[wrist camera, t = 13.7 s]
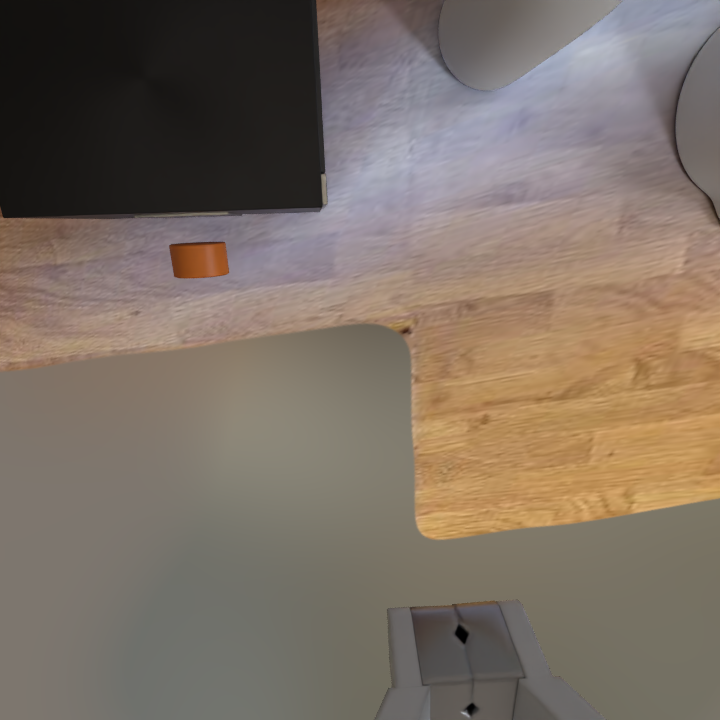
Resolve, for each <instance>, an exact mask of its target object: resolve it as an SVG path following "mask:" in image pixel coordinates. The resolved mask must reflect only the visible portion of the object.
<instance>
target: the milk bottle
mask: <svg viewBox="0 0 720 720" xmlns="http://www.w3.org/2000/svg"><path fill="white" fill-rule="evenodd" d="M622 1H623V0H445V1H444V4H443V6H442V10H441V13H440V18H439V26H438V37H439V45H440V50H441V53H442V56H443V59H444V61H445V63H446V65H447V67H448V68H449V70H450V71H451V73H452V74H453V75H454V76H455V77H456V78H457V79H458V80H459V81H460V82H462V83H463V84H465V85H466V86H468V87H471V88H473V89H477V90H482V91H491V90H497V89H500V88H503V87H505V86H507V85H509V84H511V83H512V82H514V81H516V80H517V79H519V78H520V77H522V76H523V75H525V74H526V73H528V72H529V71H531V70H532V69H533V68H535V67H536V66H538V65H539V64H541V63H542V62H544V61H545V60H546V59H548V58H549V57H551V56H552V55H554V54H555V53H556V52H558V51H559V50H561V49H562V48H563V47H565V46H566V45H568V44H569V43H570V42H572V41H573V40H575V39H576V38H577V37H579V36H580V35H582V34H583V33H584V32H586V31H587V30H589V29H590V28H591V27H592V26H594V25H595V24H596V23H598V22H599V21H600V20H601V19H603V18H604V17H605V16H607V15H608V14H609V13H610V12H611V11H612V10H614V9H615V8H616V7H617V6H618V5H619V4H620V3H621V2H622Z"/></svg>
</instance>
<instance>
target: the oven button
mask: <svg viewBox="0 0 720 720" xmlns="http://www.w3.org/2000/svg"><path fill="white" fill-rule="evenodd" d="M169 248H170V254H171V260H172V266H173V272H174V276H175V277H177V278H205V277H215V276H222V275H226V274H228V273H229V267H228V259H227V251H226V244H225V242H196V243H180V244H171V245H169Z"/></svg>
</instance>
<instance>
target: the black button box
mask: <svg viewBox="0 0 720 720" xmlns="http://www.w3.org/2000/svg"><path fill="white" fill-rule="evenodd" d="M327 204H328V202H327V183H326V174H325V158H324V139H323V121H322V102H321V83H320V65H319V46H318V27H317V9H316V0H0V207H1V211H2V214H3V217H4V218H71V219H121V218H185V217H215V216H242V214H271V213H301V212H320V210H321V209H324V208H325V206H326V205H327Z"/></svg>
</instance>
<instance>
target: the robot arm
mask: <svg viewBox="0 0 720 720" xmlns="http://www.w3.org/2000/svg"><path fill="white" fill-rule="evenodd" d="M676 142H677V148H678V152H679V156H680V159H681V162H682V164H683V166H684V168H685V170H686V172H687V174H688V175H689V177H690V178H691V179H692V181H693V182H694V183H695V184H696V185H697V186H698V187H699V188H700V189H701V190H703V191H704V192H705V193H706V194H707V195H708V196H709V197H710V198H711V200H712V201H713V204H714V207H715V209H716V212H717V215H718V217H719V219H720V27H719V28H718V29H717V31H716V32H715V33H714V34H713V35H712V36H711V37H710V38H709V39H708V41H707V42H706V43H705V45H704V46H703V47H702V49H701V50H700V52H699V53H698V55H697V56H696V58H695V60H694V62H693V64H692V65H691V67H690V69H689V72H688V74H687V76H686V79H685V81H684V84H683V87H682V90H681V93H680V97H679V102H678V106H677V113H676ZM387 619H388V644H389V660H390V661H389V662H390V673H391V684H392V688H388V690H387V692H386V695H385V697H384V699H383V702H382V704H381V706H380V708H379V710H378V712H377V715H376V717H375V720H606V719H605V718H604V717H603V716H602V715H601V714H600V713H599V712H598V711H597V710H596V709H595V708H594V707H593V706H591V705H590V704H589V703H588V702H587V701H586V700H585V699H584V698H583V697H582V696H581V695H580V694H579V693H577V692H576V691H575V690H574V689H573V688H572V687H571V686H570V685H569V684H568V683H567V682H566V681H565V680H564V679H562V678H561V677H560V676H553V675H552V673H551V671H550V668H549V666H548V664H547V661H546V659H545V657H544V654H543V652H542V649H541V647H540V645H539V642H538V640H537V638H536V635H535V633H534V631H533V628H532V626H531V624H530V621H529V619H528V616H527V614H526V612H525V609H524V607H523V605H522V604H521V602H520V601H519V600H506V601H484V602H473V603H462V604H452V605H447V606H445V605H444V606H424V607H410V608H409V607H403V608H388V609H387Z"/></svg>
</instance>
